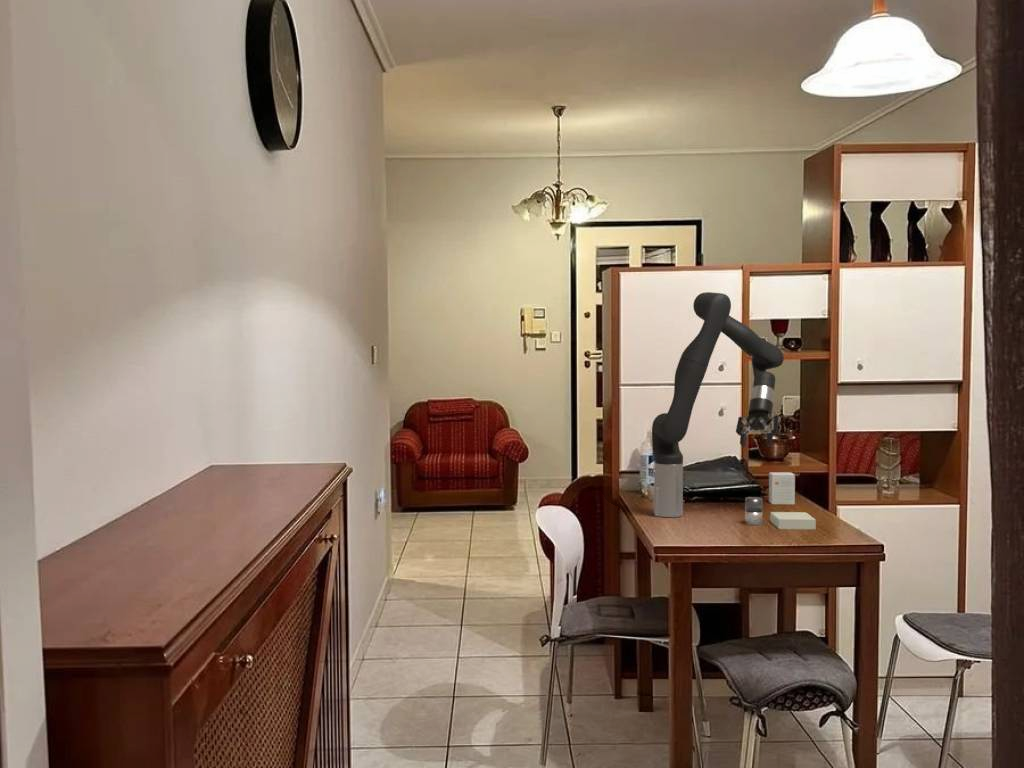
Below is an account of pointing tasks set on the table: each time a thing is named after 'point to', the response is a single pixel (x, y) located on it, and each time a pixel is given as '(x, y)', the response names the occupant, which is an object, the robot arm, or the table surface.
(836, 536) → the table surface
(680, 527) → the table surface
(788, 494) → the small box
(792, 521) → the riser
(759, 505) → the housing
